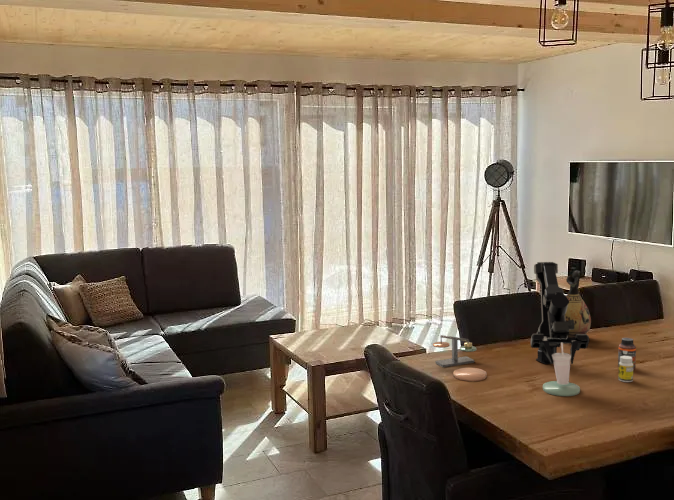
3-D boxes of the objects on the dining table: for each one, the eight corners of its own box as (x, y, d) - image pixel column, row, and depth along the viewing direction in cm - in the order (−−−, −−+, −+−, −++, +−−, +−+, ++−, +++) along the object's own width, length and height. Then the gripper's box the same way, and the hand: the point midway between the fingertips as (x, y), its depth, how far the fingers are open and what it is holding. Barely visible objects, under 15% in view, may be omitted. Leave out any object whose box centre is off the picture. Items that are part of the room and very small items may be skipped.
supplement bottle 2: (615, 378, 235) (616, 355, 234) (628, 377, 235) (629, 354, 234) (622, 382, 230) (623, 359, 229) (635, 382, 231) (636, 358, 230)
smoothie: (577, 383, 223) (574, 343, 221) (560, 387, 221) (558, 346, 219) (565, 378, 229) (562, 339, 227) (549, 381, 227) (546, 342, 225)
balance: (470, 357, 265) (470, 328, 264) (479, 362, 259) (479, 332, 258) (430, 363, 259) (429, 334, 258) (438, 368, 253) (437, 337, 252)
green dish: (563, 382, 233) (563, 379, 233) (587, 392, 222) (587, 389, 221) (535, 387, 229) (535, 384, 229) (558, 398, 218) (558, 394, 217)
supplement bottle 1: (627, 372, 242) (628, 342, 240) (614, 367, 247) (614, 338, 245) (638, 369, 244) (639, 339, 243) (625, 365, 250) (626, 336, 248)
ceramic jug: (586, 345, 277) (587, 275, 273) (549, 341, 285) (549, 273, 281) (594, 336, 291) (595, 269, 287) (558, 332, 299) (559, 267, 295)
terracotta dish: (475, 369, 251) (475, 366, 251) (493, 378, 240) (493, 375, 240) (447, 373, 247) (447, 370, 247) (464, 382, 236) (464, 379, 236)
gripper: (531, 311, 227) (535, 351, 218) (588, 311, 224) (594, 352, 215) (529, 327, 236) (532, 366, 227) (583, 327, 233) (589, 367, 224)
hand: (562, 363), depth 223 cm, fingers closed on smoothie, 6 cm apart
